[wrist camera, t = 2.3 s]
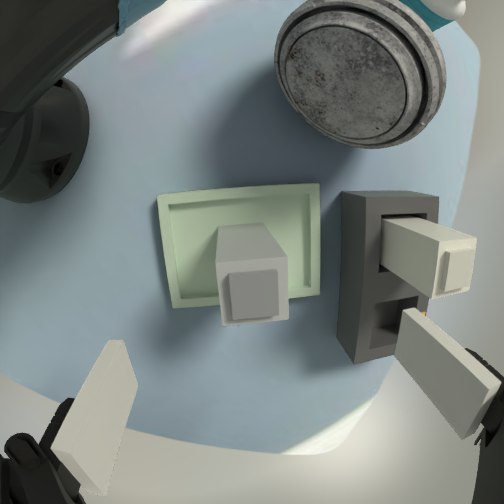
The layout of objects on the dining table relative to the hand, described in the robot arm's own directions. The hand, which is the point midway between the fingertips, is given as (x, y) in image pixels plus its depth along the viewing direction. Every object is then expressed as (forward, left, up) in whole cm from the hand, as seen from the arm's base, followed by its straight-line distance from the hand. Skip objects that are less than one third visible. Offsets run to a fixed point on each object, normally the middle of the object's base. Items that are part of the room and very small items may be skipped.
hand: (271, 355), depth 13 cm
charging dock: (+15, -4, -19) cm, 25 cm away
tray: (0, 0, -19) cm, 19 cm away
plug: (0, 0, -19) cm, 19 cm away
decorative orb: (+11, +17, -20) cm, 28 cm away
